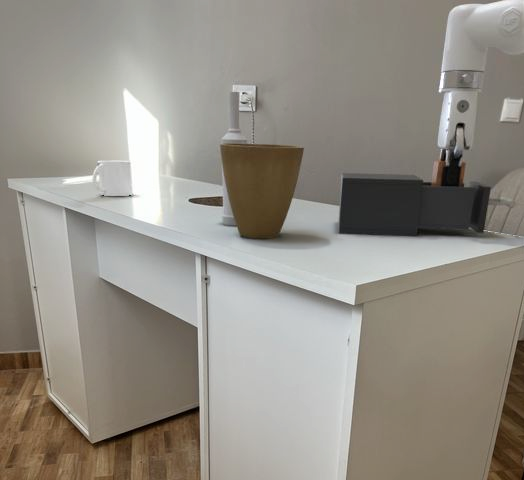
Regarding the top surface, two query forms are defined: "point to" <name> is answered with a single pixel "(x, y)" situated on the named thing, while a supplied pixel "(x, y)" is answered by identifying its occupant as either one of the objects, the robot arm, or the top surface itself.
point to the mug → (113, 178)
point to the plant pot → (260, 185)
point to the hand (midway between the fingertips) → (446, 186)
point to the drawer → (457, 206)
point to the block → (439, 170)
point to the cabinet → (380, 204)
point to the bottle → (231, 137)
